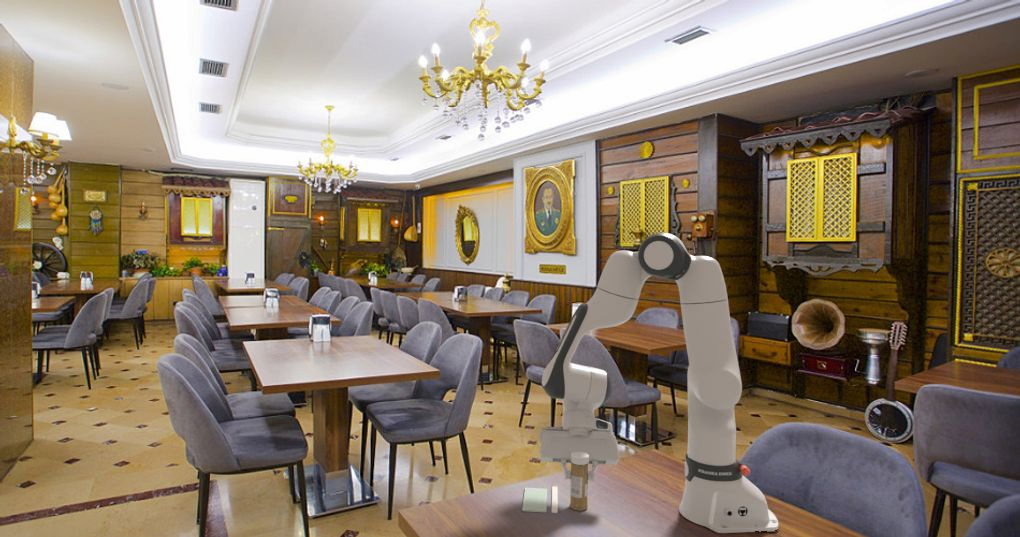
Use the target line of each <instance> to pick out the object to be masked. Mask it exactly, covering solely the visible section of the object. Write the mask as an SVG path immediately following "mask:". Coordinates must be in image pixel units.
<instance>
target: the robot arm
mask: <svg viewBox="0 0 1020 537" xmlns="http://www.w3.org/2000/svg"><path fill="white" fill-rule="evenodd" d="M650 277H655V278H659V279H665V280H671V281H674V282H676V285H677V288H678V293H679V302H680V303H679V304H680V310H681V318H682V326H683V335H684V341H685V346H686V351H687V357H688V358H687V359H688V367H687V374H686V375H687V377H686V378H687V379H686V380H687V381H686V382H687V420H688V421H687V423H688V424H687V426H688V427H687V428H688V429H687V453H685V459H684V477H685V481H684V482H685V483H684V490H683V494H682V498H681V501H680V504H679V507H678V511H679V513H680V514H681V515H682V517H683V518H685V519H687V520H688V521H690V522H692V523H694V524H697V525H699V526H702V527H705V528H708V529H710V530H711V531H713V532H715V533H718V534H734V533H736V534H737V533H756V532H755V531H759V533H761V531H767V532H776V531H775V530H777V529H778V530H779V528H780V527H779V520H778V518H777V516H776V514H774V513H773V512H772V510H770V509H769V507H768V502H767V500H766V497H765V495H764V493H763V492H762V491H761V490H760V489H759V488H758V487H757V486H756V485H755V484H754V483H753V482H751V481H750V480H749V479H748V478H747V477H748V476H749V475H751V469H750V467H748V466H747V465H746V464H743V462H741V461H740V460H739V459H737V458H736V446H737V444H736V442H737V440H736V439H737V438H736V437H737V426H736V418H735V416H736V414H735V406H736V405H737V404H738V402H739V401H740V399H741V397H742V393H743V383H742V377H741V370H740V366H739V360H738V355H737V350H736V345H735V341H734V336H733V335H734V334H733V329H732V320H731V315H730V307H729V306H730V305H729V299H728V292H727V285H726V282H725V278H724V273H723V272H722V268H721V265H720V263H719V262H718V261H717V259H715V258H714V257H710V256H708V255H692V254H690V253H689V252H688V249H687V246H686V244H685V243H684V241H683V240H681V239H680V238H679V237H678V236H676V235H674V234H672V233H669V232H656V233H653V234H650V235H648V236H647V237H646V238H645V239H643V241H641V243H640V245H639V247H638V251H631V250H625V249H621V250H617V251H614V252H613V253H611V254H610V255H609V258H608V259H607V260H606V263H605V265H604V268H603V269H602V272H601V275H600V278H599V280H598V282H597V287H596V290H595V291H594V293H593V295H592V297H591V298H590V299H589V300H588V301H587V302H586V303H583V304H580V305H579V306H578V307H577V309H576V310H575V311H574V313H573V315H572V316H571V318H570V320H569V322H568V324H567V326H566V328H565V330H564V332H563V334H562V337H561V339H560V341H559V343H558V345H557V347H556V348H555V350H554V353H553V355H552V356H551V358H550V359H549V361H548V362H547V365H546V367H545V368H544V370H543V373H542V375H541V376H542V377H541V387H542V388H543V391H544V392H545V393H546V394H547V395H548V396H549V398H551V399H556V400H557V399H558V400H562V406H563V413H562V414H561V415H562V416H561V417H562V418H561V419H562V420H561V424H562V425H561V426H545V427H544V428H542V429H540V430H539V434H538V435H539V436H538V437H539V438H538V439H539V441H540V449H539V458H540V460H541V461H542V462H544V463H557V464H558V463H559V464H560V468H561V469H562V471H563V472H564V479H565V480H571V469H568V467H567V464H571V454H572V453H573V452H584V453H587V454H588V455H589V463H588V465H591V468H592V469H591V470H588V481H592V482H594V481H595V473H596V471H597V470H598V467H599V465H601V466H602V465H603V466H617V464H618V463H619V461H620V452H619V445H618V441H617V437H616V436H615V434H614V433H613V424H612V423H611V422H609V421H605V420H603V419H600V418H597V417H595V416H596V415H595V409H599V408H601V407H602V406H604V405H605V404H607V402H609V401H610V399H611V398H612V393H613V384H612V383H613V382H612V379H611V376H610V375H609V373H608V372H607V371H606V370H604V369H601V368H597V367H593V366H586V365H582V364H578V363H574V362H571V360H572V358H573V356H574V355H575V352H576V350H577V349H578V346H579V345H580V342H581V340H582V338H583V337H584V336H585V335H587V334H588V333H590V332H591V331H592V332H593V331H595V330H600V329H606V328H607V329H608V328H613V327H618V326H620V325H623V324H625V323H626V322H628V321H629V320H630V319H631V318H632V317H633V315H634V314H635V311H636V310H637V306H638V303H639V300H640V296H641V293H642V292H641V291H642V289H643V288H644V284H645V282H646V281H647V279H649V278H650ZM778 527H779V528H778ZM778 530H777V531H778Z"/></svg>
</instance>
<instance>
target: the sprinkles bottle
mask: <svg viewBox="0 0 1020 537" xmlns="http://www.w3.org/2000/svg"><path fill="white" fill-rule="evenodd" d="M588 463H589V455H588V454H587V453H584V452H573V453H572V454H571V463H570V470H571V479H570V483H569V484H570V485H569V486H570V488H569V489H570V491H569V493H570V503H569V507H570V508H571V509H572V510H575V511H577V512H578V511H579V512H580V511H581V512H582V511H585V510H587V509H588V507H589V505H588V494H589V493H588V492H589V480H588V471H589V464H588Z"/></svg>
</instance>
